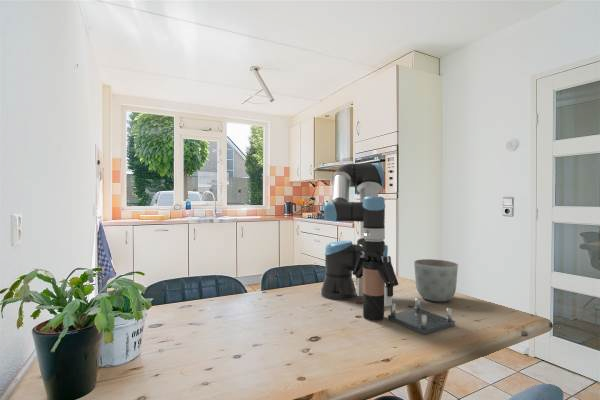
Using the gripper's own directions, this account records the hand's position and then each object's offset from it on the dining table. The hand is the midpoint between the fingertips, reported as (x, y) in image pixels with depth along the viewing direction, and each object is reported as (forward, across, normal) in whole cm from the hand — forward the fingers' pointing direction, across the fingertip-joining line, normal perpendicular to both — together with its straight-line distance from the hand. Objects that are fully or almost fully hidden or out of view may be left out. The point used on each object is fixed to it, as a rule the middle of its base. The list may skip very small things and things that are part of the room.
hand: (373, 300), depth 113 cm
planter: (+6, -3, +38) cm, 39 cm away
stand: (+6, +11, +11) cm, 17 cm away
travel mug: (+6, 0, 0) cm, 6 cm away
